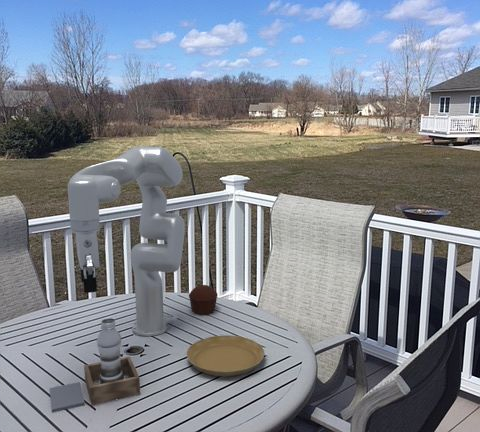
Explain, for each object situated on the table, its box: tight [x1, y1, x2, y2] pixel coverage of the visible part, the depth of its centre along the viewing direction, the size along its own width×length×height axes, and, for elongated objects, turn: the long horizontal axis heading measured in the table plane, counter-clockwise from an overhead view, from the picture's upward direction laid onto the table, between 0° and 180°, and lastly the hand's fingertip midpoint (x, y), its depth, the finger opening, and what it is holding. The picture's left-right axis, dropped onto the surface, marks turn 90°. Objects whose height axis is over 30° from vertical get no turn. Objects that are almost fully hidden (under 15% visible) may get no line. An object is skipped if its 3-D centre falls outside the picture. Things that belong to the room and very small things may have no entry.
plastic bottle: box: [96, 317, 125, 384], centre depth 133 cm, size 6×7×20 cm
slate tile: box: [49, 381, 85, 413], centre depth 130 cm, size 8×11×1 cm
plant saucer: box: [186, 334, 265, 378], centre depth 150 cm, size 24×24×3 cm
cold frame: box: [83, 356, 141, 406], centre depth 134 cm, size 13×13×5 cm
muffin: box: [188, 284, 219, 316], centre depth 188 cm, size 12×11×10 cm
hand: (88, 286), depth 132 cm, fingers open, 9 cm apart
